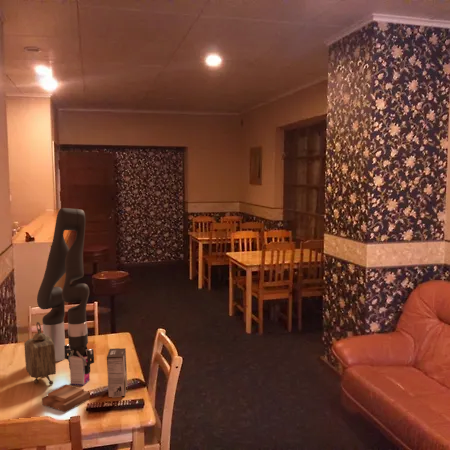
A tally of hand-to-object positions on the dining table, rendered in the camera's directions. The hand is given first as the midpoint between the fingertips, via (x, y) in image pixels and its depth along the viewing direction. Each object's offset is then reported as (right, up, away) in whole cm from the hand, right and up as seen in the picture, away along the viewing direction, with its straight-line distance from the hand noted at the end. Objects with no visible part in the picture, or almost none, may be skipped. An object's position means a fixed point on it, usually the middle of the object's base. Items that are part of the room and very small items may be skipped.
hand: (79, 371), depth 204 cm
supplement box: (0, -5, 0) cm, 5 cm away
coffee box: (+17, -5, -9) cm, 21 cm away
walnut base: (0, -6, -16) cm, 18 cm away
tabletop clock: (-16, -5, +2) cm, 17 cm away
